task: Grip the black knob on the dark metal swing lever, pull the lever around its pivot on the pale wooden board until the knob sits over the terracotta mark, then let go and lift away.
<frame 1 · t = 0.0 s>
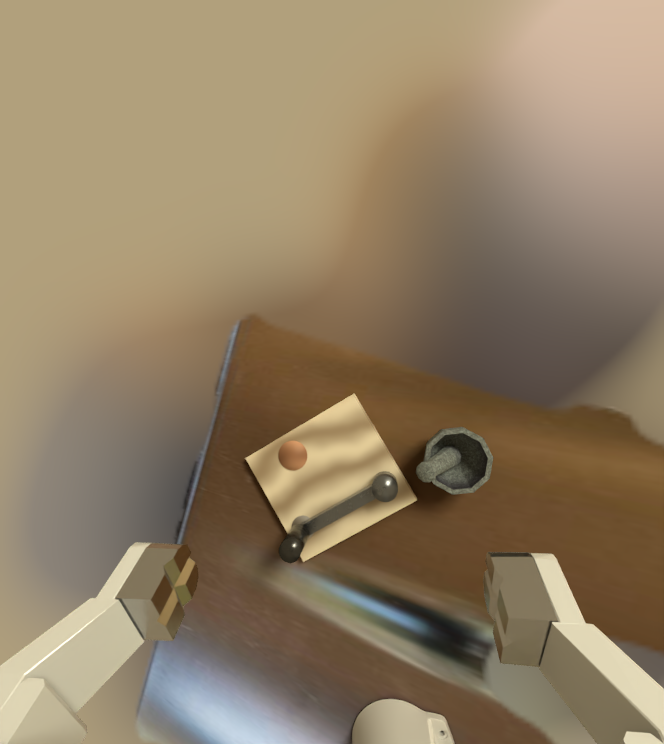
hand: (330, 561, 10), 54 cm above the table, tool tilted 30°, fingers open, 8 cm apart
lever: (340, 515, 58), point 7 cm above the table, hinge at 0.0°
lever board: (329, 476, 65), on the table
mortar and pestle: (446, 452, 63), on the table
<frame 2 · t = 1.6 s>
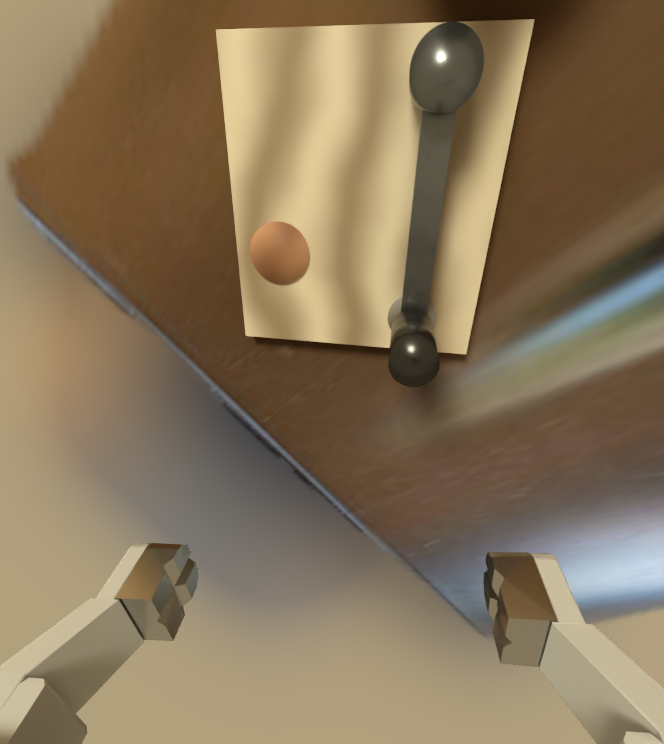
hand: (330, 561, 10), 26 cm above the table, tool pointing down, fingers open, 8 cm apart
lever: (427, 220, 24), point 7 cm above the table, hinge at 0.0°
lever board: (359, 211, 30), on the table
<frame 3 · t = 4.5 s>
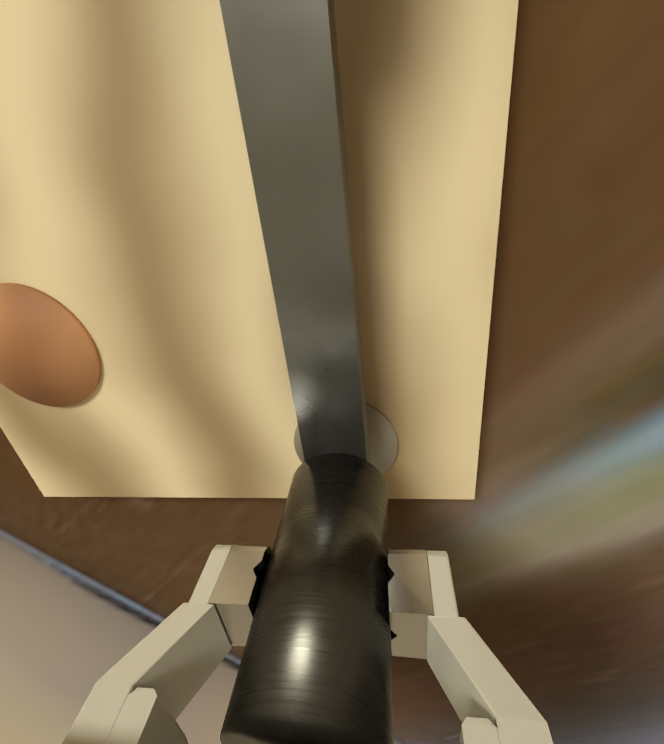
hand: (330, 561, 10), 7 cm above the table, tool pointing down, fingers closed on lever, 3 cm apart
lever: (278, 251, 7), point 6 cm above the table, hinge at 0.0°, touching gripper
lever board: (184, 234, 13), on the table
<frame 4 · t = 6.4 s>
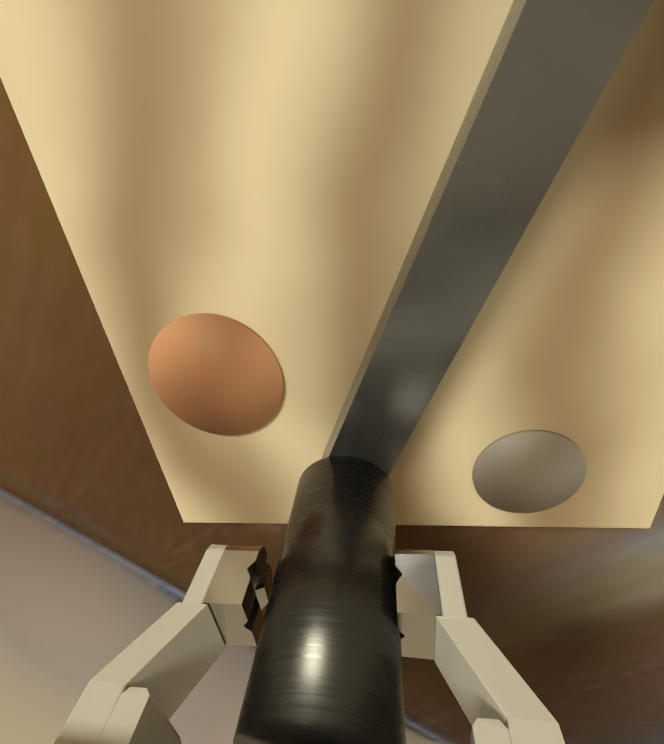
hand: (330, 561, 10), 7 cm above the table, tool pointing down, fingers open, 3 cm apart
lever: (491, 284, 7), point 7 cm above the table, hinge at -24.6°, touching gripper
lever board: (385, 263, 13), on the table
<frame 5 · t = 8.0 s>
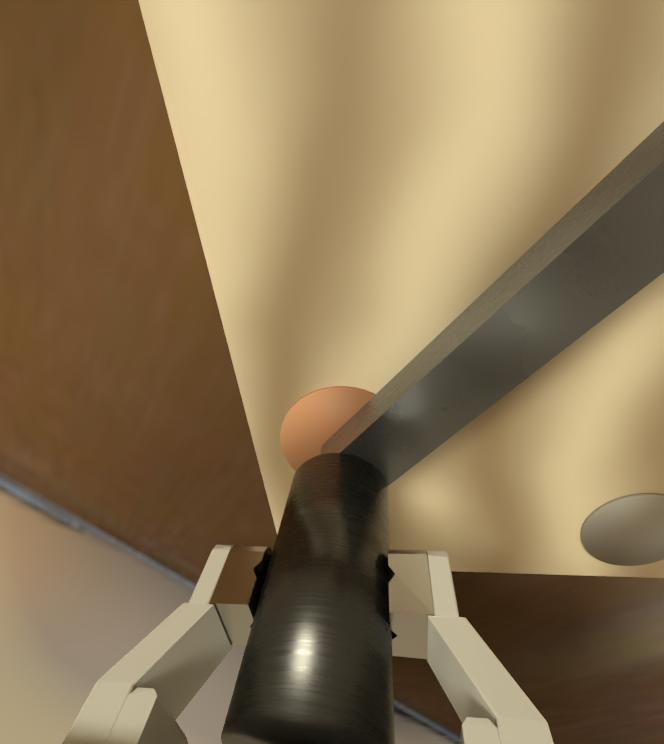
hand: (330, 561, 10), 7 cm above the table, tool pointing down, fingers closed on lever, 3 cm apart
lever: (609, 357, 7), point 7 cm above the table, hinge at -44.7°, touching gripper
lever board: (513, 338, 14), on the table
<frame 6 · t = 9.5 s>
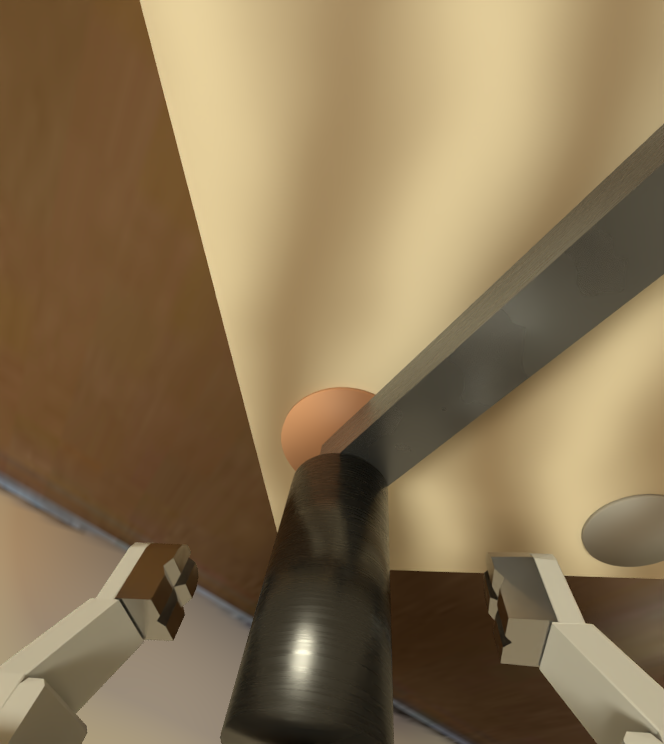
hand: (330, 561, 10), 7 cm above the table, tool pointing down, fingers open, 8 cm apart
lever: (610, 358, 7), point 7 cm above the table, hinge at -44.9°
lever board: (514, 339, 14), on the table
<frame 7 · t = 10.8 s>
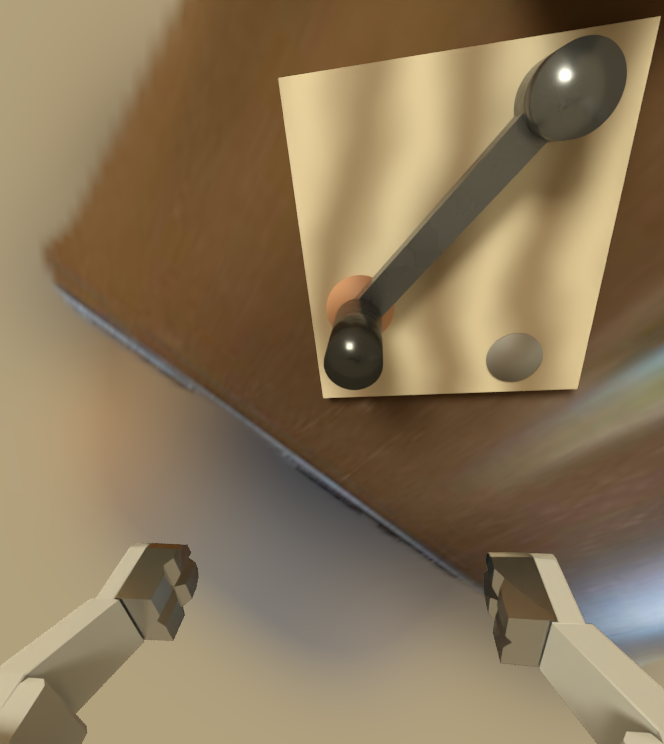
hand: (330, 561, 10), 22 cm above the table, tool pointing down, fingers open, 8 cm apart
lever: (456, 228, 20), point 7 cm above the table, hinge at -44.9°
lever board: (445, 251, 27), on the table
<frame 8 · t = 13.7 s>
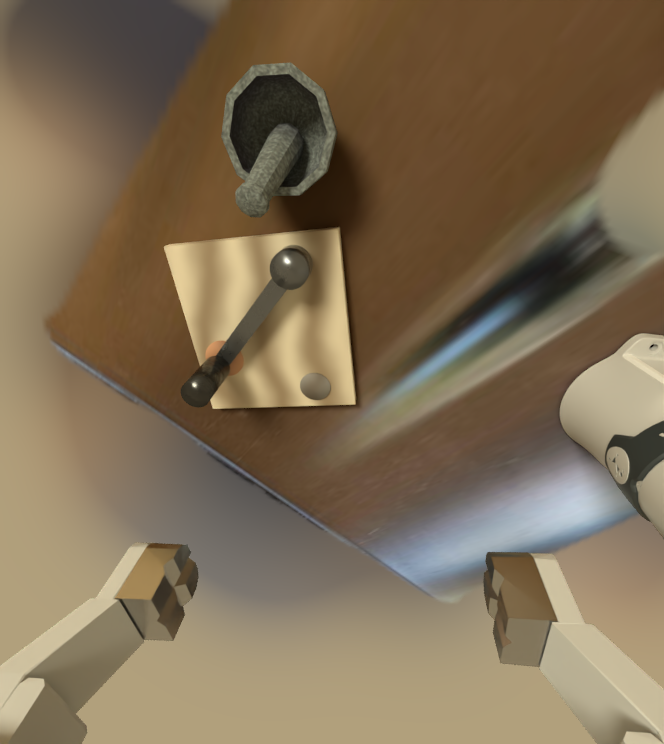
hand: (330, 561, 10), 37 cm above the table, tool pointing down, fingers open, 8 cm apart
lever: (245, 328, 41), point 7 cm above the table, hinge at -44.9°
lever board: (270, 327, 48), on the table
mortar and pestle: (292, 147, 39), on the table
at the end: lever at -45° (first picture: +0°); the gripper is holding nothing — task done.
